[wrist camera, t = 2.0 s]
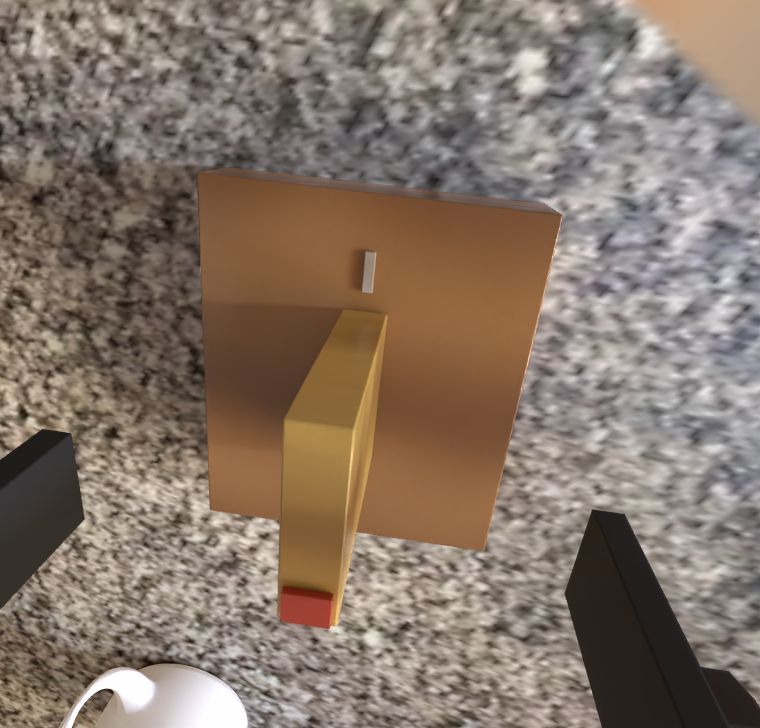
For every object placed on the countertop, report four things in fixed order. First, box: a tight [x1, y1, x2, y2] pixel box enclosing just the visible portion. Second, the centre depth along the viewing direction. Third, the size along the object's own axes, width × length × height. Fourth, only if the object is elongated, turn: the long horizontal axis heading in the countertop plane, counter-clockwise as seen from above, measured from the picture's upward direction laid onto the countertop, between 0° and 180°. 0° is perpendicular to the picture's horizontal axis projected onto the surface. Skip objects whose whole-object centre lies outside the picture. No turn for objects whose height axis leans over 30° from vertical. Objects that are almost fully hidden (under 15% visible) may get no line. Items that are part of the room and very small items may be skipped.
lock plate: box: [197, 167, 563, 551], centre depth 21 cm, size 14×12×3 cm
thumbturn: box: [277, 309, 387, 629], centre depth 16 cm, size 6×2×8 cm, turn 174°
